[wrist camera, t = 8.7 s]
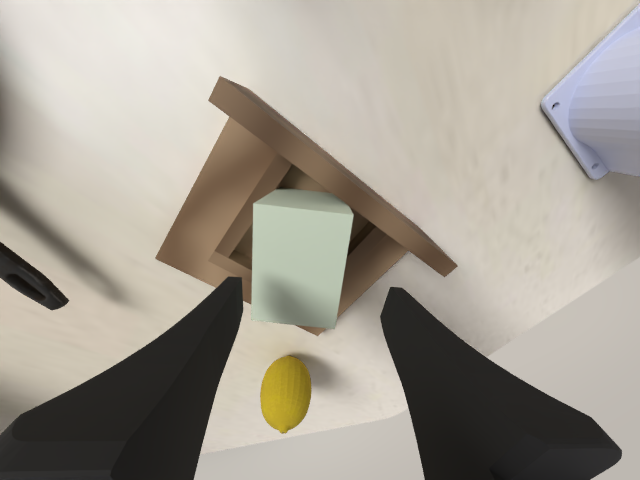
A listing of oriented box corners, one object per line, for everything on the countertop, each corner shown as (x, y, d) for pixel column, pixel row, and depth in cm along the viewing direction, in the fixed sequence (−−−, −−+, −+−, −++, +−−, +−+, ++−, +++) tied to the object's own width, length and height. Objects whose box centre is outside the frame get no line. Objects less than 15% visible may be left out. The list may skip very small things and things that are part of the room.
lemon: (259, 347, 28) (244, 424, 21) (303, 337, 28) (303, 412, 21) (275, 373, 31) (266, 449, 24) (315, 365, 30) (318, 440, 23)
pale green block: (343, 194, 18) (353, 215, 12) (331, 280, 21) (333, 337, 14) (279, 187, 18) (253, 203, 12) (274, 274, 21) (251, 328, 14)
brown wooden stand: (421, 229, 22) (458, 265, 16) (317, 328, 27) (320, 380, 22) (248, 88, 16) (219, 76, 11) (161, 252, 21) (113, 297, 16)
